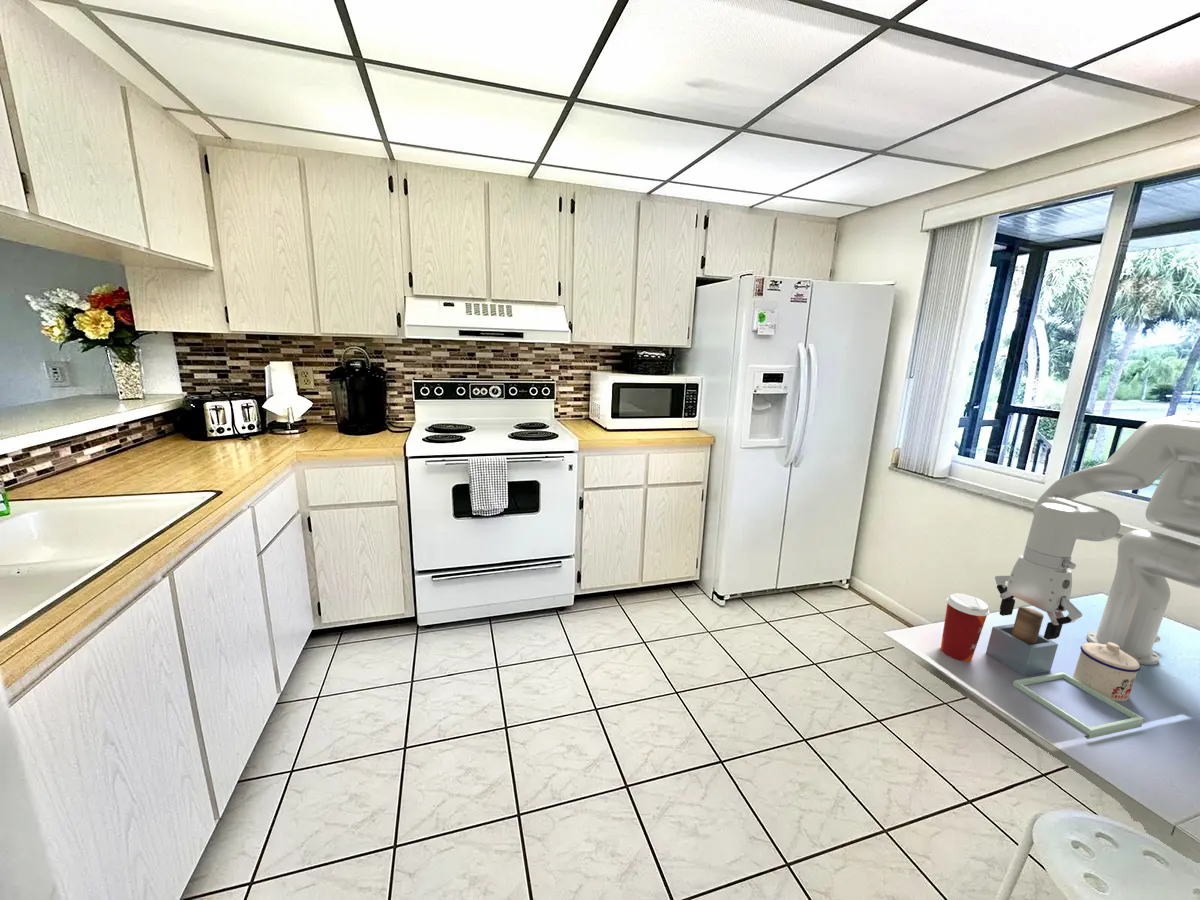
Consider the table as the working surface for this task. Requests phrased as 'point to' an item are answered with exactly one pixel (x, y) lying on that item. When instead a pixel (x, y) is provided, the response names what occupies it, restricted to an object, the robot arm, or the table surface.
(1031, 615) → the peg
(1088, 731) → the tray
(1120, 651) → the teacup with lid
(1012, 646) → the deep square box
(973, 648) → the coffee cup
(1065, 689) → the table surface
